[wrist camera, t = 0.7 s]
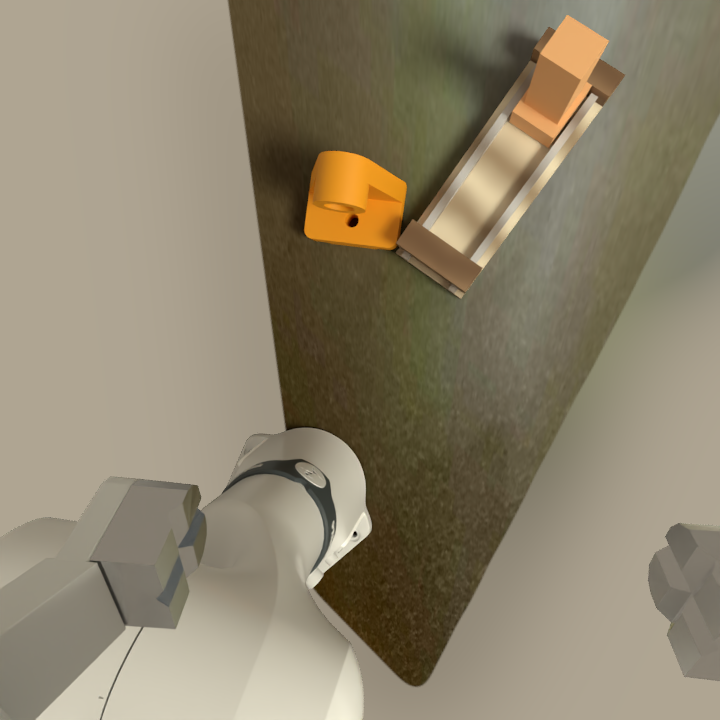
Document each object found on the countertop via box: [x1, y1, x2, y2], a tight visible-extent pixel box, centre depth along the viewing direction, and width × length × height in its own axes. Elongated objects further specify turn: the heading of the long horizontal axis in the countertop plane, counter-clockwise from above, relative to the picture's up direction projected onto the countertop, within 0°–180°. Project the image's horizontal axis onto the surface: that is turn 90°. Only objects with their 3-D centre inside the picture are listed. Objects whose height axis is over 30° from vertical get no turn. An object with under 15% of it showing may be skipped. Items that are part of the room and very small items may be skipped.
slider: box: [509, 15, 609, 148], centre depth 49 cm, size 6×5×13 cm
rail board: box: [396, 27, 625, 299], centre depth 56 cm, size 27×9×5 cm, turn 144°
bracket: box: [304, 151, 407, 250], centre depth 55 cm, size 11×7×12 cm, turn 82°
